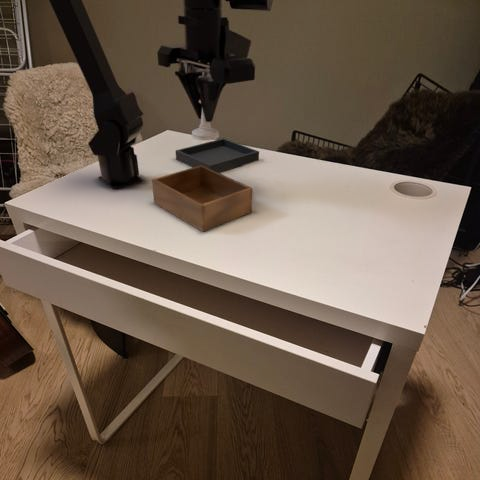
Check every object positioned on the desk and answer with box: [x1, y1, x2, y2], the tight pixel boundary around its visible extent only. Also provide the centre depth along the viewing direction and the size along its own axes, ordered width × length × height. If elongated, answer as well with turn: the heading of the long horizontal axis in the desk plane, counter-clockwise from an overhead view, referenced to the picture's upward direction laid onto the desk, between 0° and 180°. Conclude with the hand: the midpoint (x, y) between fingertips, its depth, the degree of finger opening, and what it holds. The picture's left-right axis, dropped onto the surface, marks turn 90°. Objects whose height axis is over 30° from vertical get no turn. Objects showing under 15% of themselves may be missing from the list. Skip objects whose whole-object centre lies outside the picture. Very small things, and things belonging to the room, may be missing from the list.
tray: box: [175, 137, 260, 173], centre depth 93 cm, size 14×12×2 cm
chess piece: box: [191, 71, 220, 141], centre depth 70 cm, size 5×5×10 cm
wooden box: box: [151, 165, 254, 232], centre depth 73 cm, size 11×14×4 cm
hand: (205, 120), depth 72 cm, fingers closed on chess piece
